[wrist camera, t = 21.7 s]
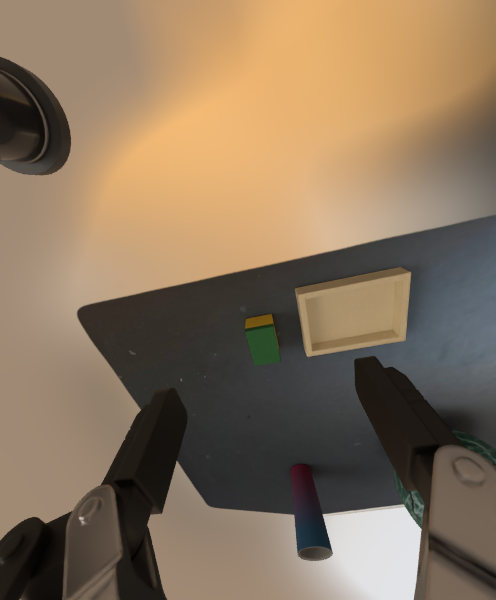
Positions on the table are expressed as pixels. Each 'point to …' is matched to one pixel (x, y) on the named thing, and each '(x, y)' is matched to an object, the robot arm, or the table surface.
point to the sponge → (262, 340)
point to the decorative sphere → (412, 497)
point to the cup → (308, 517)
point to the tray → (354, 311)
